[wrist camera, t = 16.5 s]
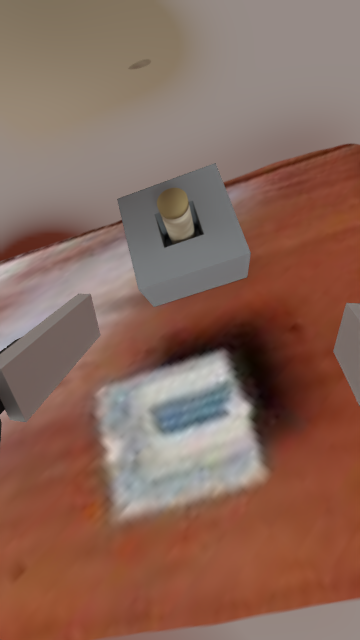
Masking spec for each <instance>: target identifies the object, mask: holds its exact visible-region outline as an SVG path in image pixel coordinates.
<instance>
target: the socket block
mask: <svg viewBox="0 0 360 640" xmlns="http://www.w3.org/2000/svg"><path fill="white" fill-rule="evenodd" d="M169 188H180V189H182V190H183V191H184V192H185V193H186V194H187V197H188V202H189V206H190V211H191V215H192V220H193V225H194V229H195V234H196V237H195V238H192V239H189V240H186V241H183V242H180V243H177V244H174V245H172V242H171V240H170V237H169V235H168V232H167V230H166V227H165V224H164V222H163V219H162V217H161V214H160V212H159V209H158V207H157V200H158V197H159V196H160V194H161V193H162V192H163V191H165V190H167V189H169ZM117 200H118V204H119V209H120V213H121V217H122V221H123V226H124V230H125V234H126V238H127V242H128V247H129V251H130V255H131V259H132V264H133V268H134V272H135V276H136V281H137V285H138V289H139V291H140V292H141V293H142V294H143V295H144V296H145V297H146V298H147V299H148V301H149V302H150V303H151V304H152V305H153V306H154V307H155V306H158V305H161V304H164V303H168V302H171V301H174V300H177V299H180V298H183V297H186V296H190V295H193V294H196V293H199V292H202V291H205V290H209V289H212V288H215V287H218V286H221V285H224V284H227V283H231V282H234V281H237V280H240V279H243V278H246V277H247V275H248V268H249V261H250V254H251V253H250V250H249V248H248V245H247V242H246V240H245V237H244V235H243V232H242V230H241V227H240V225H239V222H238V219H237V217H236V214H235V212H234V209H233V207H232V204H231V202H230V199H229V196H228V194H227V191H226V189H225V186H224V184H223V181H222V179H221V176H220V173H219V171H218V168H217V166H216V163H214V164H212V165H209V166H206V167H204V168H201V169H198V170H196V171H192V172H190V173H187V174H184V175H182V176H179V177H176V178H173V179H171V180H168V181H165V182H163V183H160V184H157V185H154V186H152V187H149V188H146V189H144V190H140V191H138V192H136V193H132V194H130V195H127V196H124V197H122V198H119V199H117Z"/></svg>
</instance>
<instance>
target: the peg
mask: <svg viewBox="0 0 360 640" xmlns="http://www.w3.org/2000/svg"><path fill="white" fill-rule="evenodd" d="M157 207H158V209H159V212H160V214H161V217H162V219H163V222H164V224H165V227H166V230H167V232H168V235H169V237H170V240H171V242H172V245H174V244H177V243H180V242H183V241H186V240H189V239H192V238H195V237H196V234H195V229H194V225H193V220H192V215H191V211H190V206H189V202H188V197H187V194H186V193H185V192H184V191H183V190H182V189H180V188H169V189H167V190H165V191H163V192H162V193H161V194H160V196H159V197H158V200H157Z"/></svg>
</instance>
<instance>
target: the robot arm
mask: <svg viewBox="0 0 360 640" xmlns="http://www.w3.org/2000/svg"><path fill="white" fill-rule="evenodd" d="M99 336H100V331H99V327H98V323H97V319H96V314H95V310H94V306H93V301H92V297H91V294H78V295H76V296H75V297H74V298H72V299H71V300H70V301H68V302H67V303H66V304H65V305H63V306H62V307H61V308H59V309H58V310H57V311H55V312H54V313H53V314H52V315H50V316H49V317H48V318H46V319H45V320H44V321H42V322H41V323H40V324H39V325H37V326H36V327H35V328H33V329H32V330H31V331H29V332H28V333H27V334H26V335H24V336H23V337H21V338H19V339H17V340H15V341H14V342H12V343H11V344H10V345H8V346H7V348H4V349H3V350H2V351H0V414H1V413H2V412H3V411H4V410H5V411H6V412H7V414H8V416H9V418H10V420H15V421H21V422H27V421H28V420H29V419H30V417H31V416H32V415H33V414H34V413H35V412H36V410H37V409H38V408H39V407H40V406H41V404H42V403H43V402H44V401H45V400H46V399H47V397H48V396H49V395H50V394H51V393H52V392H53V390H54V389H55V388H56V387H57V386H58V385H59V383H60V382H61V381H62V380H63V379H64V377H65V376H66V375H67V374H68V373H69V372H70V370H71V369H72V368H73V367H74V366H75V365H76V363H77V362H78V361H79V360H80V359H81V357H82V356H83V355H84V354H85V353H86V352H87V350H88V349H89V348H90V347H91V346H92V345H93V343H94V342H95V341H96V340H97V339H98V338H99ZM333 352H334V354H335V356H336V358H337V360H338V362H339V364H340V366H341V368H342V370H343V372H344V374H345V377H346V379H347V381H348V383H349V385H350V387H351V389H352V391H353V393H354V395H355V397H356V399H357V402H358V404H359V406H360V304H356V303H346V307H345V310H344V314H343V318H342V321H341V325H340V329H339V332H338V336H337V340H336V344H335V347H334V351H333ZM0 441H1V419H0Z"/></svg>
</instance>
